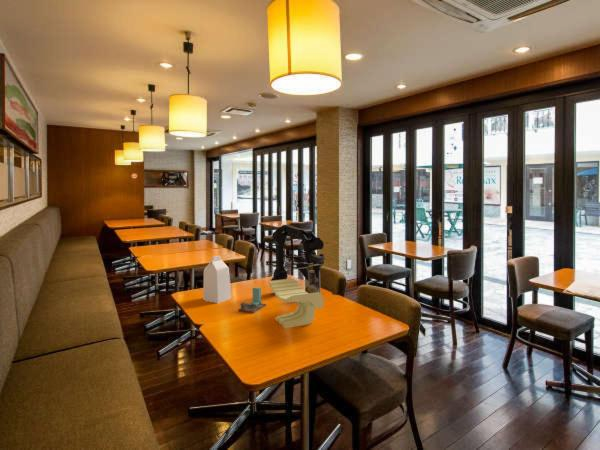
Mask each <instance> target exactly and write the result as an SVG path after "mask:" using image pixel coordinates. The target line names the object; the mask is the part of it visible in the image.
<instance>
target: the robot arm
mask: <svg viewBox="0 0 600 450" xmlns="http://www.w3.org/2000/svg"><path fill="white" fill-rule="evenodd" d="M289 234H290V235H291V234H292V235H295V236H297V238H299V240H301V241H300V242H299V244H300V245H302V250H303V253H302V256H304V257H303V258H304V260H303V262H301V261H300V262H297V263H296V264H295V266H296V269H298V270H299V272H301V274H302V275H303V277H304V279H305V278H306V280H308V270H309V269H310V267H309V266H312V269H313V270H314V272H315V275H316V277H317V278H318V277H319V271H320V272H321V267H322V266H324V264H325V261H324V260H326V258H325V254H324V253H320V254H317V252H315V251H319V250H323V248H324V245H325V243H324V242H323V240H322V239H321V237H320V236H316V234H315V233H314V232H313V230H312V228H299V227H296V226H293V225H291V224H288V223H287V224H282V225H281V226H280V227H278V228H277V229H276V230H275V231H273V232H272V235H271V236H272V242H273V243H274V245H275V269H274V271H273V274H272V275H273V276H272V278H271V279H270V281H274V280H283V279H288V276H289V275H288V271H287V270H286V269H285V248H284V245H285V243H286V241H287V236H289ZM272 293H273V292H272ZM273 295H274V296H275V293H273Z"/></svg>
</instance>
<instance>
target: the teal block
mask: <svg viewBox="0 0 600 450" xmlns="http://www.w3.org/2000/svg"><path fill="white" fill-rule="evenodd" d="M261 303H262V288H261V287H258V286H257V287H256V286H254V287H252V301H251V302H249V304H254V306H258V305H259V304H261ZM249 308H251V307H249Z"/></svg>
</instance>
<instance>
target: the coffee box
mask: <svg viewBox="0 0 600 450" xmlns="http://www.w3.org/2000/svg"><path fill="white" fill-rule="evenodd" d="M304 291H306V292H307V293H316V292H319V293H321V270H320V271H319V277H318V278H317V277H316V275H315V272H314V270H309V269H308V280H306V278H305V277H304Z"/></svg>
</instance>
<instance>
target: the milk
mask: <svg viewBox="0 0 600 450" xmlns="http://www.w3.org/2000/svg"><path fill="white" fill-rule="evenodd" d="M202 288H203V290H202V291H203V295H202V298H203V300H205V301H204V302H208V301H209V302H210V303H213V302H214V304H220V303H222V302H225V301H227V300H230V299H232V287H231V276H230V267H229V266H228V265H227V264H226V263H225V262H224V260H223V259H222V256H221V255H215V256H212V257H211V260H210V262H209V263H208V264H207V265H206V266H205V267H204V269H203V287H202Z"/></svg>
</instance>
